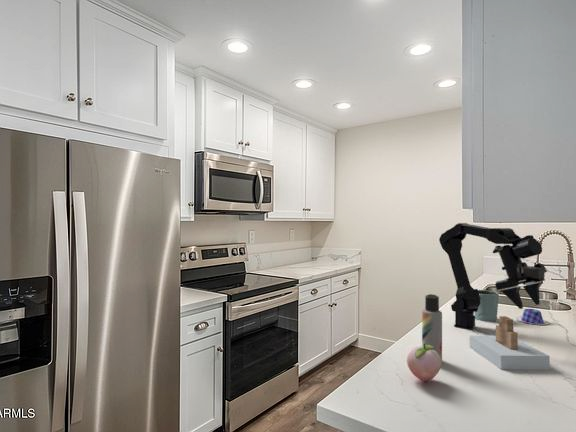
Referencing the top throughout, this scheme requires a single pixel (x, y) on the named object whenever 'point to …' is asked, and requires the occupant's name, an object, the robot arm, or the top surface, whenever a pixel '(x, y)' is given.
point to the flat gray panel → (510, 354)
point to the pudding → (532, 317)
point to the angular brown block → (506, 333)
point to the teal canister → (487, 306)
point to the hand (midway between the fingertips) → (529, 306)
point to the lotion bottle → (432, 324)
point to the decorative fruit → (424, 362)
